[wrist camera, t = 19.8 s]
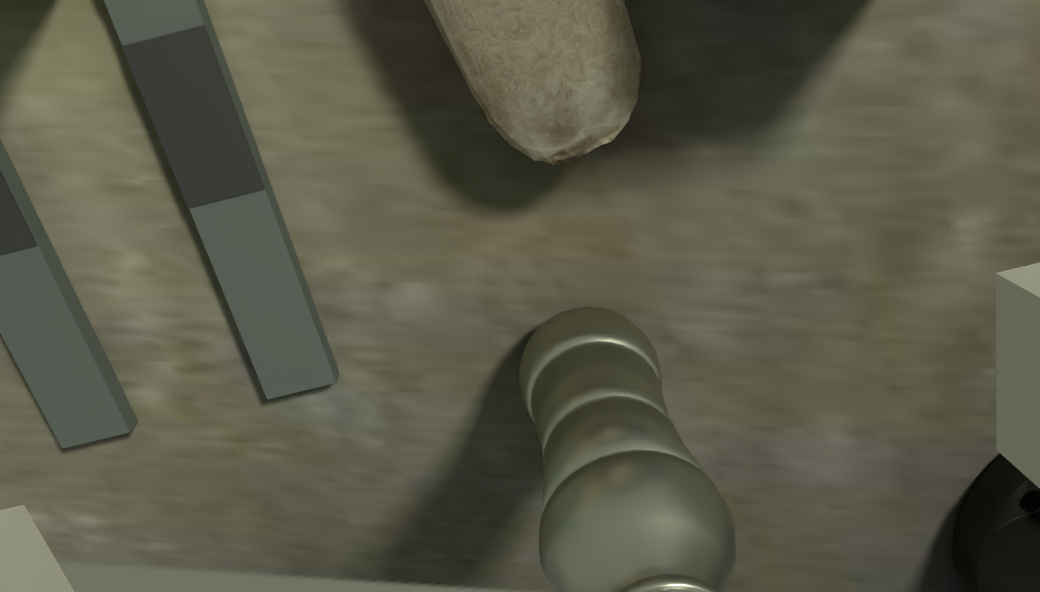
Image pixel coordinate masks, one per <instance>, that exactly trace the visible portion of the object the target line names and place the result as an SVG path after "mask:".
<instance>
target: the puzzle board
mask: <svg viewBox="0 0 1040 592" xmlns="http://www.w3.org/2000/svg"><path fill="white" fill-rule="evenodd" d="M104 2H105V5H106V7H107V9H108V12H109V14H110V17H111V19H112V22H113V24H114V27H115V29H116V31H117V34H118V36H119V39H120V41H121V44H122V46H121V47H122V49H123V51H124V54H125V56H126V59H127V61H128V64H129V66H130V68H131V71H132V73H133V76H134V78H135V81H136V83H137V86H138V88H139V90H140V93H141V95H142V98H143V100H144V103H145V105H146V108H147V110H148V112H149V115H150V117H151V120H152V122H153V125H154V127H155V129H156V132H157V134H158V137H159V139H160V142H161V144H162V147H163V149H164V151H165V154H166V156H167V159H168V161H169V164H170V166H171V168H172V171H173V173H174V176H175V178H176V181H177V183H178V186H179V188H180V190H181V193H182V195H183V198H184V200H185V203H186V205H187V207H188V208H189V210H190V212H191V215H192V217H193V219H194V222H195V224H196V227H197V229H198V232H199V234H200V237H201V239H202V241H203V244H204V246H205V249H206V251H207V254H208V256H209V259H210V261H211V263H212V266H213V268H214V271H215V273H216V276H217V278H218V281H219V283H220V285H221V288H222V290H223V293H224V295H225V298H226V300H227V303H228V305H229V307H230V310H231V312H232V315H233V317H234V320H235V322H236V324H237V327H238V329H239V332H240V334H241V337H242V339H243V342H244V344H245V346H246V349H247V351H248V354H249V356H250V359H251V361H252V364H253V366H254V368H255V371H256V373H257V376H258V378H259V381H260V383H261V386H262V388H263V390H264V393H265V395H266V398H267V399H272V398H276V397H280V396H284V395H288V394H292V393H297V392H301V391H305V390H309V389H313V388H317V387H322V386H326V385H330V384H334V383H336V382H337V379H338V376H339V371H338V368H337V366H336V363H335V360H334V357H333V355H332V352H331V349H330V346H329V344H328V341H327V338H326V335H325V333H324V330H323V327H322V324H321V322H320V319H319V316H318V313H317V311H316V308H315V305H314V302H313V300H312V297H311V294H310V291H309V289H308V286H307V283H306V280H305V278H304V275H303V272H302V269H301V267H300V264H299V261H298V258H297V256H296V253H295V250H294V248H293V245H292V242H291V239H290V237H289V234H288V231H287V228H286V226H285V223H284V220H283V217H282V215H281V212H280V209H279V206H278V204H277V201H276V198H275V195H274V193H273V190H272V187H271V184H270V182H269V179H268V176H267V173H266V171H265V168H264V165H263V162H262V160H261V157H260V154H259V151H258V149H257V146H256V143H255V140H254V138H253V135H252V132H251V129H250V127H249V124H248V121H247V118H246V116H245V113H244V110H243V107H242V105H241V102H240V99H239V96H238V94H237V91H236V88H235V85H234V83H233V80H232V77H231V74H230V72H229V69H228V66H227V63H226V61H225V58H224V55H223V52H222V50H221V47H220V44H219V42H218V39H217V36H216V33H215V31H214V28H213V25H212V22H211V20H210V17H209V14H208V11H207V9H206V6H205V3H204V0H104ZM0 334H1V336H2V338H3V340H4V342H5V343H6V345H7V347H8V349H9V351H10V353H11V355H12V356H13V358H14V360H15V362H16V364H17V366H18V368H19V369H20V371H21V373H22V375H23V377H24V379H25V381H26V382H27V384H28V386H29V388H30V390H31V392H32V394H33V395H34V397H35V399H36V401H37V403H38V405H39V407H40V408H41V410H42V412H43V414H44V416H45V418H46V420H47V421H48V423H49V425H50V427H51V429H52V431H53V433H54V434H55V436H56V438H57V440H58V442H59V444H60V446H61V447H62V449H63V448H68V447H72V446H76V445H80V444H84V443H88V442H93V441H97V440H101V439H105V438H109V437H113V436H118V435H122V434H126V433H130V432H131V431H132V429H133V428H134V427H135V425H136V424H137V423H138V421H137V419H136V417H135V415H134V413H133V411H132V408H131V406H130V404H129V402H128V400H127V398H126V396H125V394H124V392H123V390H122V388H121V386H120V384H119V382H118V380H117V378H116V376H115V374H114V372H113V370H112V367H111V365H110V363H109V361H108V359H107V357H106V355H105V353H104V351H103V349H102V347H101V345H100V343H99V341H98V339H97V337H96V335H95V333H94V331H93V328H92V326H91V324H90V322H89V320H88V318H87V316H86V314H85V312H84V310H83V308H82V306H81V304H80V302H79V300H78V298H77V296H76V294H75V292H74V290H73V287H72V285H71V283H70V281H69V279H68V277H67V275H66V273H65V271H64V269H63V267H62V265H61V263H60V261H59V259H58V257H57V255H56V253H55V251H54V248H53V246H52V244H51V242H50V240H49V238H48V236H47V234H46V232H45V230H44V228H43V226H42V224H41V222H40V220H39V218H38V216H37V214H36V212H35V210H34V207H33V205H32V203H31V201H30V199H29V197H28V195H27V193H26V191H25V189H24V187H23V185H22V183H21V181H20V179H19V177H18V175H17V173H16V171H15V168H14V166H13V164H12V162H11V160H10V158H9V156H8V154H7V152H6V150H5V148H4V146H3V144H2V142H1V140H0Z"/></svg>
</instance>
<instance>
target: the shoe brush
mask: <svg viewBox="0 0 1040 592" xmlns="http://www.w3.org/2000/svg"><path fill="white" fill-rule="evenodd" d="M424 1H425V3H426V5H427V7H428V9H429V11H430V13H431V15H432V17H433V19H434V21H435V23H436V25H437V27H438V29H439V31H440V33H441V35H442V37H443V39H444V41H445V43H446V45H447V46H448V48H449V50H450V52H451V54H452V56H453V57H454V59H455V61H456V63H457V65H458V67H459V68H460V71H461V73H462V75H463V77H464V79H465V81H466V83H467V85H468V87H469V89H470V91H471V93H472V95H473V97H474V98H475V100H476V101H477V102H478V104H479V105H480V107H481V108H482V109H483V111H484V112H485V114H486V117H487V120H488V122H489V124H490V125H492V126H494V127H495V129H496V130H497V131H498V132H499V133H500V134H501V135H502V137H503V138H504V139H505V140H506V141H507V142H508V143H509V144H510V145H511V146H513V147H514V148H516V149H518V150H519V151H521V152H522V153H524V154H525V155H527V156H528V157H530V158H531V159H533V160H534V161H545V162H547V163H550V164H552V165H555V164H562V163H571V162H574V161H576V160H579V159H582V158H583V157H585V156H586V155H588V154H589V153H590V152H592V151H593V150H595V149H596V148H597V147H599V146H601V145H604V144H606V143H609V142H611V141H613V139H614V138H615V137H616V136H617V135H618V133H619V132H620V131H621V130H622V129H623V127H624V126H625V125H626V123H627V122H628V121H629V118H630V116H631V114H632V111H633V109H634V107H635V105H636V103H637V101H638V99H639V92H640V84H641V76H642V68H643V66H642V61H641V56H640V53H639V49H638V46H637V43H636V39H635V36H634V32H633V29H632V26H631V22H630V19H629V16H628V12H627V10H626V7H625V4H624V1H623V0H424Z"/></svg>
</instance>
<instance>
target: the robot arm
mask: <svg viewBox="0 0 1040 592" xmlns="http://www.w3.org/2000/svg"><path fill="white" fill-rule="evenodd" d="M996 450H997V451H998V452H999V453H1000V454H1001V455H1002V456H1000V457H999V458H998V459H997V460H996V461H995V462H994V463H993V464H992V465H991V466H990V467H989V468H988V470H987V471H986V472H985V473H984V474H983V475H982V477H981V478H980V479H979V481H978V482H977V483H976V485H975V486H974V488H973V489H972V491H971V492H970V494H969V496H968V498H967V499H966V501H965V503H964V505H963V507H962V510H961V512H960V515H959V518H958V521H957V524H956V528H955V533H954V541H953V555H954V562H955V567H956V570H957V573H958V576H959V578H960V580H961V582H962V584H963V585H964V587H965V588H966V590H967V591H968V592H1040V263H1036V264H1032V265H1028V266H1024V267H1020V268H1015V269H1011V270H1007V271H1003V272H999V273H996ZM0 592H74V591H73V589H72V587H71V586H70V584H69V582H68V580H67V579H66V577H65V575H64V573H63V572H62V570H61V568H60V567H59V565H58V563H57V561H56V560H55V558H54V556H53V554H52V553H51V551H50V549H49V548H48V546H47V544H46V542H45V541H44V539H43V537H42V535H41V534H40V532H39V530H38V529H37V527H36V525H35V523H34V522H33V520H32V518H31V516H30V515H29V513H28V511H27V510H26V508H25V506H24V505H21V506H17V507H12V508H8V509H4V510H0Z"/></svg>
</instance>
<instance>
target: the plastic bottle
mask: <svg viewBox="0 0 1040 592" xmlns="http://www.w3.org/2000/svg"><path fill="white" fill-rule="evenodd" d="M518 379H519V388H520V392H521V395H522V398H523V401H524V403H525V406H526V408H527V411H528V414H529V415H530V417H531V419H532V420H533V422H534V423H535V426H536V430H537V433H538V436H539V440H540V443H541V446H542V454H543V474H544V488H543V497H542V507H541V517H540V527H539V554H540V563H541V566H542V569H543V572H544V574H545V577H546V579H547V581H548V583H549V584H550V586H551V588H552V590H553V591H554V592H726V589H727V586H728V584H729V581H730V578H731V576H732V572H733V568H734V565H735V561H736V540H735V525H734V521H733V517H732V513H731V511H730V509H729V507H728V505H727V504H726V502H725V500H724V498H723V497H722V495H721V493H720V492H719V490H718V488H717V487H716V485H715V484H714V482H713V481H712V480H711V479H710V477H709V476H708V475H707V473H706V472H705V471H704V469H703V468H702V467H701V466H700V464H699V463H698V462H697V460H696V459H695V458H694V456H693V455H692V454H691V453H690V451H689V450H688V449H687V447H686V446H685V445H684V443H683V441H682V439H681V438H680V436H679V434H678V432H677V430H676V429H675V427H674V425H673V423H672V421H671V419H670V418H669V416H668V412H667V409H666V405H665V401H664V398H663V394H662V381H661V372H660V367H659V362H658V358H657V354H656V351H655V349H654V347H653V346H652V344H651V342H650V340H649V339H648V338H647V337H646V336H645V335H644V333H643V332H642V331H641V330H640V329H639V328H638V327H637V326H636V325H635V324H634V323H632V322H631V321H630V320H628V319H627V318H626V317H624V316H622V315H620V314H618V313H616V312H614V311H611V310H607V309H603V308H596V307H583V308H574V309H571V310H567V311H564V312H561V313H559V314H557V315H555V316H553V317H551V318H550V319H548V320H547V321H546V322H544V323H543V324H541V325H540V327H539V328H538V329H537V330H536V331H535V332H534V333H533V334H532V336H531V337H530V339H529V341H528V342H527V344H526V347H525V350H524V353H523V356H522V360H521V363H520V369H519V377H518Z"/></svg>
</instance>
